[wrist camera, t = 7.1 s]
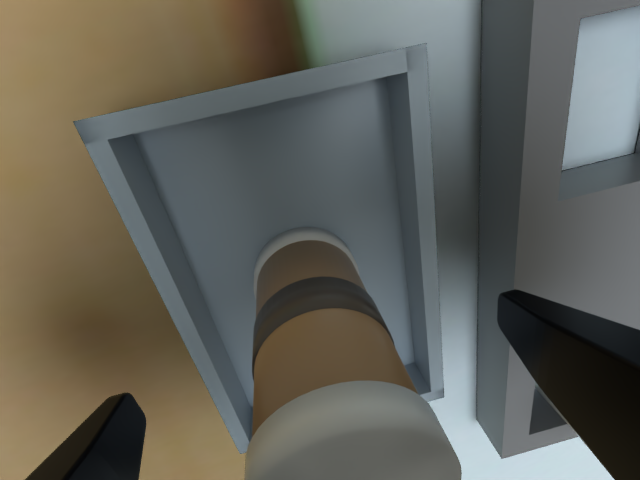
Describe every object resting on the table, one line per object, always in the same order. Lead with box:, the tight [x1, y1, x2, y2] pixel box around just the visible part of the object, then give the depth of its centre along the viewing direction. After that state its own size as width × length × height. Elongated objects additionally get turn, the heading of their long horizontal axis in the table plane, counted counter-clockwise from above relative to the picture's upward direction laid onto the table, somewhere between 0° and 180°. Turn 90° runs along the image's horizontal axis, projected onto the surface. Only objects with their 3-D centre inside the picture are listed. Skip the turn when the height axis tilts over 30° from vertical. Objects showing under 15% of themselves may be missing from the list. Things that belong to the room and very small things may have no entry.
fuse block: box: [477, 0, 640, 459], centre depth 12 cm, size 18×7×2 cm, turn 11°
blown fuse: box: [244, 227, 462, 480], centre depth 8 cm, size 3×3×7 cm
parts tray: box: [73, 43, 444, 454], centre depth 11 cm, size 12×8×2 cm, turn 11°
